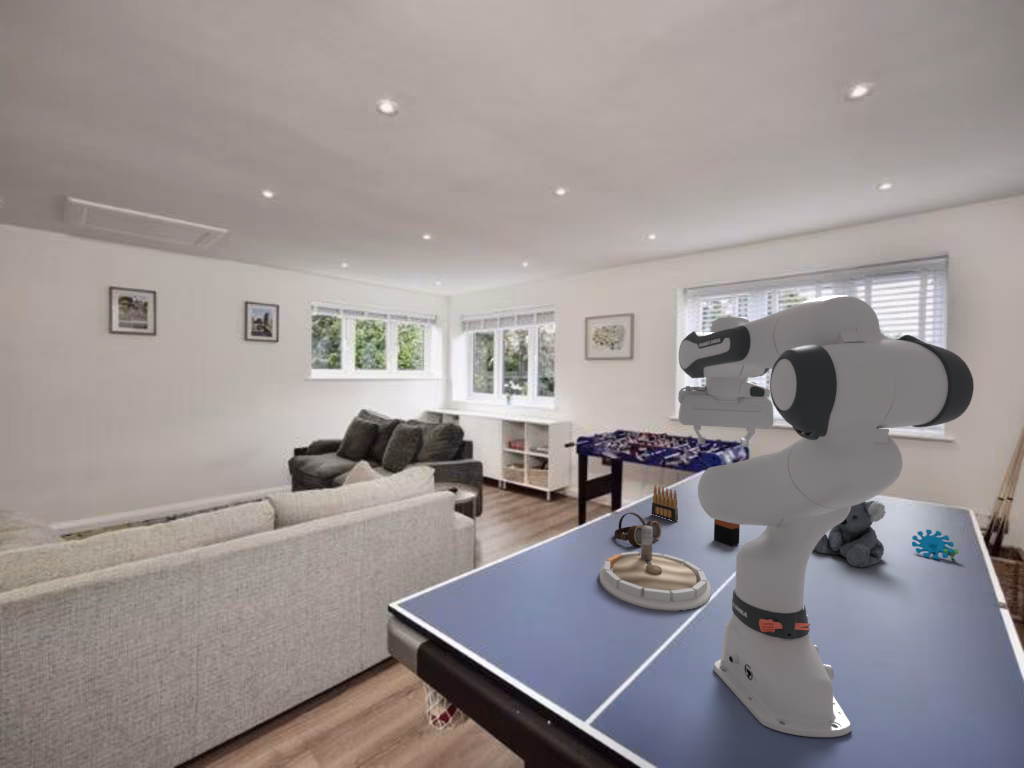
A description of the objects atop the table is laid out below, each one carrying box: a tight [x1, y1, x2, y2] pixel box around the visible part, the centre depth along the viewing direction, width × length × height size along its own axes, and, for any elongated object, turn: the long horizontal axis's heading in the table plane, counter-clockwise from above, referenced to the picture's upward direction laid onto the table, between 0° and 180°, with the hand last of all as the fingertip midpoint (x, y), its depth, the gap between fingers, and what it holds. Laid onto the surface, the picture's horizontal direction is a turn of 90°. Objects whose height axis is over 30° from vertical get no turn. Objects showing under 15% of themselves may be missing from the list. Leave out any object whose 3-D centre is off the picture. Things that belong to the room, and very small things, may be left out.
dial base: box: [599, 550, 712, 612], centre depth 124 cm, size 28×28×4 cm
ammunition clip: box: [651, 485, 679, 522], centre depth 181 cm, size 11×2×12 cm, turn 37°
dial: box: [613, 525, 696, 593], centre depth 124 cm, size 21×21×10 cm
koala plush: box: [813, 500, 887, 569], centre depth 146 cm, size 17×18×20 cm
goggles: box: [614, 512, 662, 547], centre depth 158 cm, size 15×13×10 cm
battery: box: [713, 519, 741, 547], centre depth 156 cm, size 4×7×10 cm, turn 29°
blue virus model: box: [911, 528, 960, 560], centre depth 147 cm, size 11×6×10 cm
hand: (722, 444), depth 111 cm, fingers open, 8 cm apart
